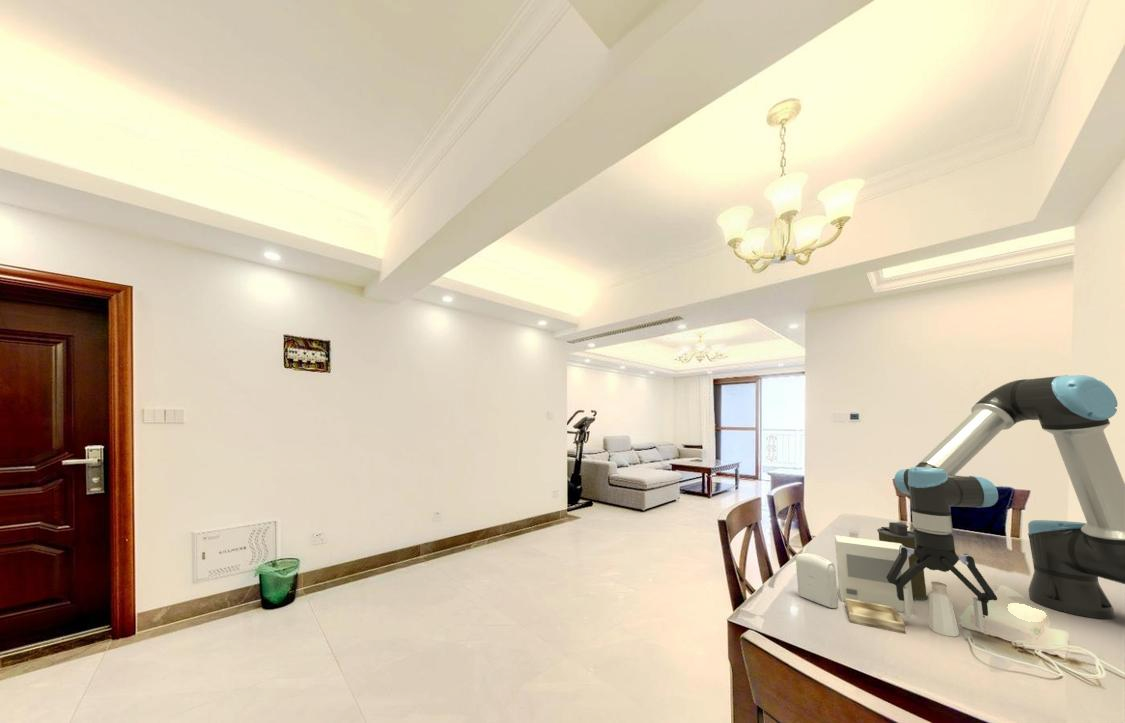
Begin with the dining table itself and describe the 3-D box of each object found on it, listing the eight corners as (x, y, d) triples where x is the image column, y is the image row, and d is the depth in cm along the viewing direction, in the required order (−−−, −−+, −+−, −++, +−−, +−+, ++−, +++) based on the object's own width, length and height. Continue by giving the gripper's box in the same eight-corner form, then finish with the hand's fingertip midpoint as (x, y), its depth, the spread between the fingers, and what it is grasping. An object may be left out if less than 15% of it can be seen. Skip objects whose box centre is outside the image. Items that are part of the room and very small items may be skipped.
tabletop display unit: (906, 602, 116) (900, 543, 118) (914, 615, 108) (908, 551, 110) (838, 590, 123) (834, 534, 126) (842, 601, 116) (837, 541, 118)
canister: (937, 601, 117) (929, 528, 120) (900, 600, 117) (893, 527, 120) (906, 586, 128) (900, 519, 131) (873, 585, 128) (867, 518, 131)
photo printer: (795, 595, 119) (792, 550, 121) (805, 593, 121) (802, 549, 123) (831, 610, 110) (828, 561, 112) (841, 607, 112) (837, 559, 114)
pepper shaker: (960, 639, 96) (954, 589, 97) (929, 631, 99) (924, 583, 101) (958, 631, 100) (953, 583, 101) (929, 623, 103) (924, 577, 105)
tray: (895, 615, 108) (894, 607, 108) (905, 633, 98) (904, 624, 98) (845, 605, 113) (844, 598, 113) (850, 622, 103) (849, 613, 104)
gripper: (994, 534, 100) (1006, 628, 97) (869, 520, 112) (876, 603, 109) (1008, 542, 94) (1022, 642, 91) (873, 526, 106) (881, 614, 103)
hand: (942, 621), depth 100 cm, fingers open, 13 cm apart
